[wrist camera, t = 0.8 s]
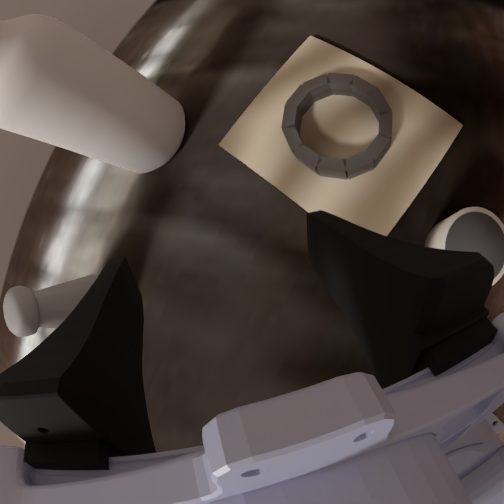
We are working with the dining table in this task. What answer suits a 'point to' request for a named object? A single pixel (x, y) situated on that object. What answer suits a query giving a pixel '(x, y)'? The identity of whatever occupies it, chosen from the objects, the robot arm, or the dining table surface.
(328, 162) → the stand
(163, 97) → the alcohol
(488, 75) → the dining table surface
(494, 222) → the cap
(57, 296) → the salt shaker
